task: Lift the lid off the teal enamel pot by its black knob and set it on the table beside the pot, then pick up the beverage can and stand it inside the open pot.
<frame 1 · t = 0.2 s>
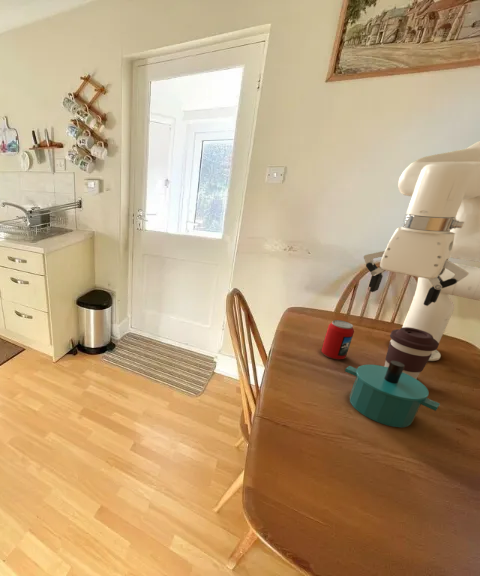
hand: (399, 297, 73), 31 cm above the table, tool pointing down, fingers open, 9 cm apart
lid: (390, 382, 79), point 8 cm above the table, touching pot
beverage can: (332, 355, 105), on the table
coffee cup: (398, 376, 95), on the table
pot: (379, 408, 82), on the table
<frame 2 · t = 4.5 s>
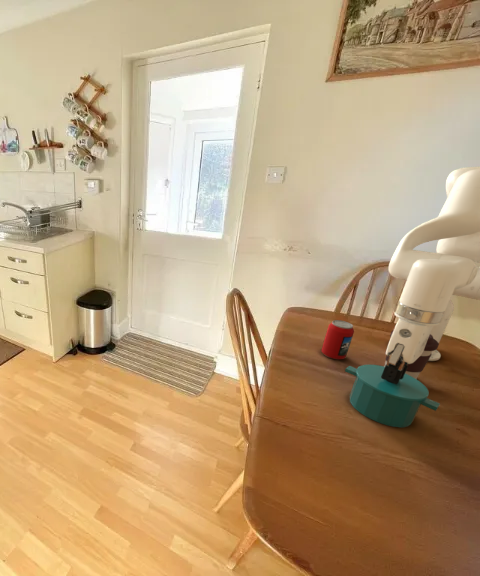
hand: (391, 378, 78), 10 cm above the table, tool pointing down, fingers closed on lid, 2 cm apart
lid: (390, 382, 79), point 9 cm above the table, touching gripper, pot
everything else where it was.
when the fingers open (2 cm above the table, at t = 11.9 s): lid stays where it is, point 1 cm above the table.
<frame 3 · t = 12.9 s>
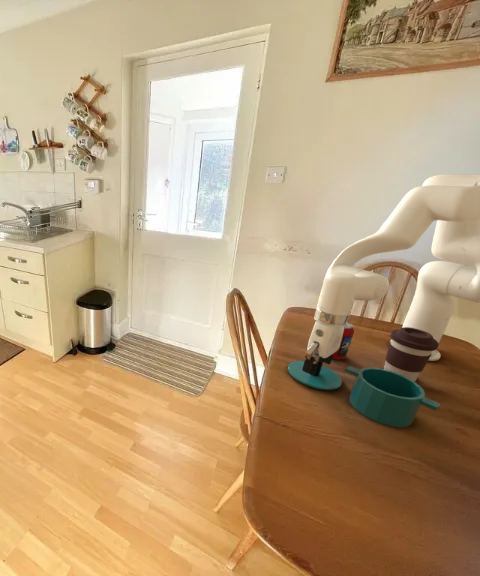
hand: (316, 367, 93), 3 cm above the table, tool pointing down, fingers open, 9 cm apart
lid: (313, 375, 94), point 1 cm above the table
everything else where it was.
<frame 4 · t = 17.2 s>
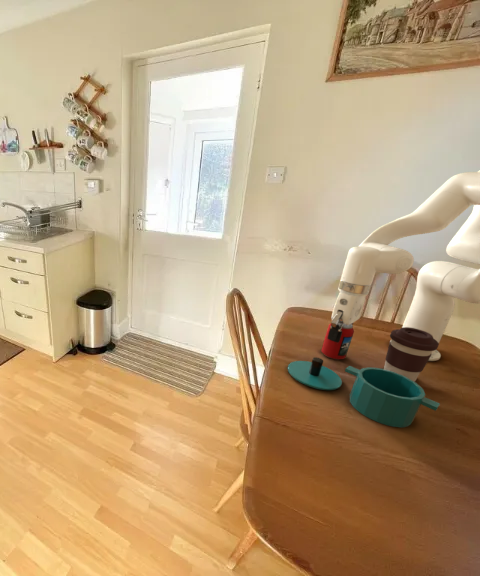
hand: (338, 336, 103), 7 cm above the table, tool pointing down, fingers closed on beverage can, 6 cm apart
beverage can: (332, 355, 105), on the table, touching gripper
everything else where it was.
when the fingers open (8 cm above the table, at t = 25.5 s): beverage can stays where it is, resting on pot.
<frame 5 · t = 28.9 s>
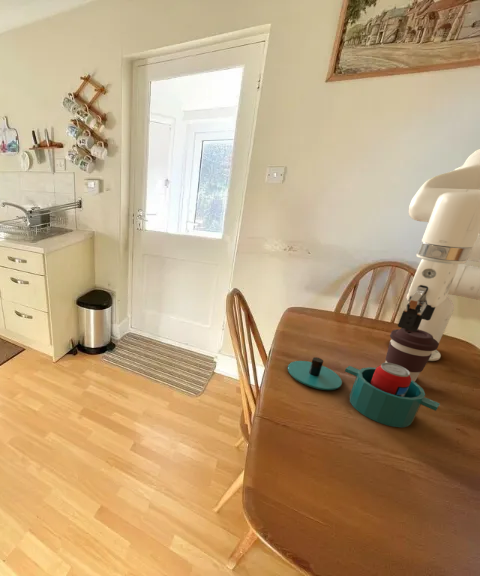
hand: (413, 323, 73), 25 cm above the table, tool pointing down, fingers open, 9 cm apart
beverage can: (379, 407, 82), resting on pot
everything else where it was.
at the end: lid inside the target area on the table beside the pot (0.0 cm from its centre), point 0.6 cm above the table; beverage can 0.1 cm off-centre in the pot, point 0.3 cm above the pot's base; beverage can tilted 0° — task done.
